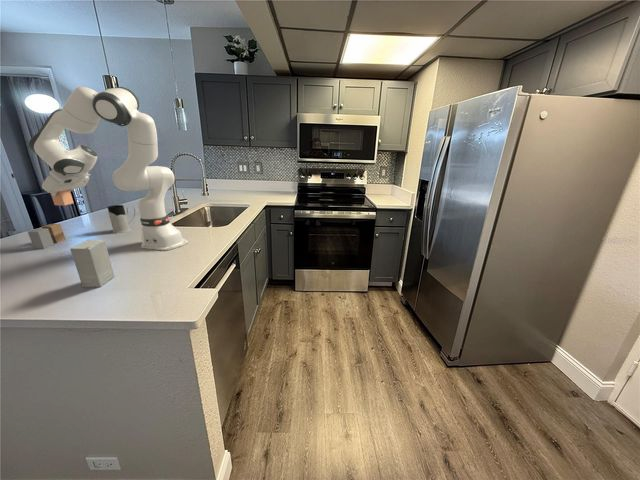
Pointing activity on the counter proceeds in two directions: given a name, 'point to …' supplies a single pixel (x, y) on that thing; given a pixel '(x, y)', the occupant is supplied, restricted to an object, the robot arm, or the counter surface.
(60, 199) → the terracotta block
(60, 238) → the walnut block
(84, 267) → the skincare box
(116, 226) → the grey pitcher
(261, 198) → the counter surface
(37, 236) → the grey block
